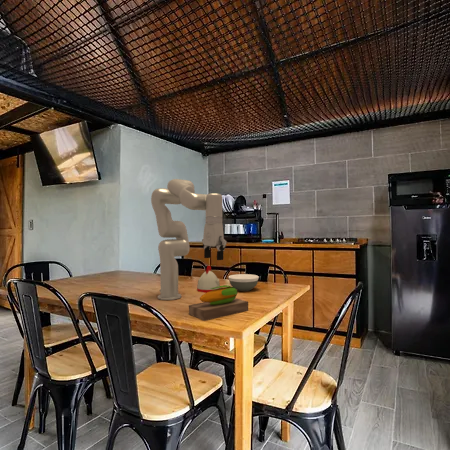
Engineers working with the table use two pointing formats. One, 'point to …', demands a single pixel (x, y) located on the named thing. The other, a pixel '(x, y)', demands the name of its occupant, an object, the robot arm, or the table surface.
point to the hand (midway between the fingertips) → (213, 258)
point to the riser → (217, 309)
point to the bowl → (243, 281)
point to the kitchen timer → (207, 281)
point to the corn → (219, 295)
